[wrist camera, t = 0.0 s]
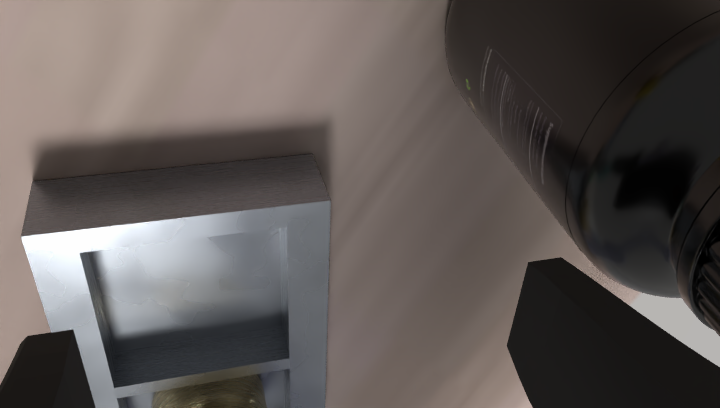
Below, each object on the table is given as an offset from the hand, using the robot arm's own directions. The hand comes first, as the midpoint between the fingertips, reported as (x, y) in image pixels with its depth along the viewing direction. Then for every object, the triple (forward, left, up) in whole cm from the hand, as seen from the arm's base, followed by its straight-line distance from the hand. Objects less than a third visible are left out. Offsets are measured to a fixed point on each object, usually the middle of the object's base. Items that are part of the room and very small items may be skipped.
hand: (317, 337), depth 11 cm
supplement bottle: (+1, -9, -10) cm, 14 cm away
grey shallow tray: (-9, +2, -10) cm, 14 cm away
